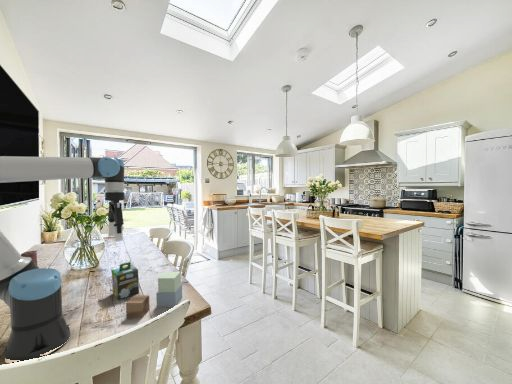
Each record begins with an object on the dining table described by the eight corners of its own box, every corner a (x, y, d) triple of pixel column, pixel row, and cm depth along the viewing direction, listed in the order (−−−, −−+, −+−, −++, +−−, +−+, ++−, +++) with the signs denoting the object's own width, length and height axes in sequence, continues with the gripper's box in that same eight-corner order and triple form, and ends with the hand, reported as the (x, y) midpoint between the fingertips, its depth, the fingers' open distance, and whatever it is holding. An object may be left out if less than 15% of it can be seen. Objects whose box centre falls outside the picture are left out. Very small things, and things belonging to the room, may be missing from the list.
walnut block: (142, 318, 87) (141, 302, 87) (126, 318, 87) (125, 303, 87) (149, 309, 93) (149, 295, 93) (135, 309, 93) (134, 295, 93)
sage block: (174, 292, 95) (174, 278, 95) (158, 292, 95) (157, 278, 95) (180, 284, 102) (180, 271, 102) (165, 285, 102) (165, 271, 102)
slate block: (175, 307, 95) (175, 292, 94) (156, 307, 95) (156, 293, 94) (182, 297, 103) (181, 284, 102) (164, 297, 103) (164, 284, 102)
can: (20, 277, 127) (18, 253, 127) (35, 273, 133) (33, 250, 132) (24, 279, 124) (23, 254, 124) (39, 275, 130) (38, 251, 129)
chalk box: (133, 287, 113) (132, 257, 113) (139, 293, 107) (138, 262, 106) (111, 293, 107) (110, 262, 106) (117, 300, 100) (116, 267, 100)
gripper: (131, 191, 97) (131, 241, 97) (118, 191, 115) (118, 233, 116) (110, 192, 92) (111, 244, 92) (100, 191, 110) (101, 235, 111)
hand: (115, 238), depth 104 cm, fingers open, 13 cm apart
